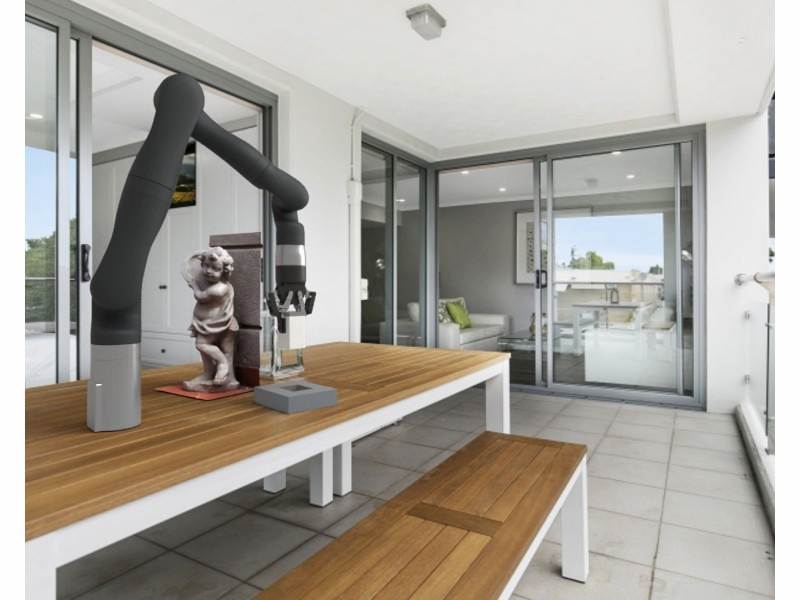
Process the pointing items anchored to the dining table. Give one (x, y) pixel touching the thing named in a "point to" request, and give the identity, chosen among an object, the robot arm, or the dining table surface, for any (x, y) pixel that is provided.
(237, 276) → the cherub statue
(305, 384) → the grey square socket
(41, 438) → the dining table surface
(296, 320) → the plug
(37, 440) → the dining table surface
